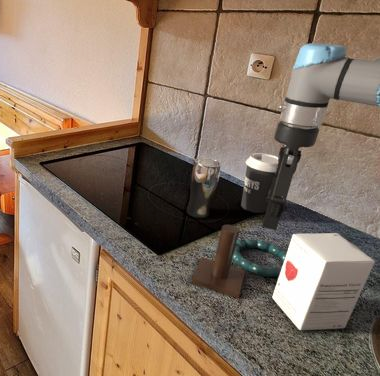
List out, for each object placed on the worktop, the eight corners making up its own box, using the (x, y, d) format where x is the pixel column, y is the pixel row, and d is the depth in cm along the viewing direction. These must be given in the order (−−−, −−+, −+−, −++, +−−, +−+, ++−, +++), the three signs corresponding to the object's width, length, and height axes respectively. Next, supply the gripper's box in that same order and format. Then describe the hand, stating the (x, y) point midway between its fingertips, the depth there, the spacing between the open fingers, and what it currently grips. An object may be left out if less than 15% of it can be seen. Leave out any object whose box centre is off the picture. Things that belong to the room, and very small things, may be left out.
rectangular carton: (269, 297, 80) (290, 232, 74) (312, 296, 81) (337, 231, 74) (298, 331, 72) (325, 261, 65) (346, 329, 72) (377, 260, 66)
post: (244, 274, 86) (258, 225, 81) (238, 298, 79) (253, 246, 74) (200, 261, 90) (211, 213, 85) (191, 283, 83) (202, 232, 78)
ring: (293, 255, 93) (296, 248, 93) (292, 286, 83) (294, 278, 82) (233, 239, 99) (235, 232, 98) (224, 266, 89) (226, 258, 88)
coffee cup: (244, 197, 121) (257, 149, 115) (278, 208, 115) (292, 159, 108) (229, 206, 115) (240, 156, 109) (262, 219, 109) (277, 167, 103)
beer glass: (178, 209, 113) (188, 159, 106) (197, 204, 116) (207, 155, 109) (197, 221, 107) (208, 168, 101) (216, 215, 110) (228, 164, 104)
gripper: (281, 108, 94) (258, 190, 103) (274, 136, 74) (246, 234, 84) (318, 113, 91) (291, 198, 100) (322, 144, 71) (287, 245, 80)
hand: (271, 214), depth 92 cm, fingers open, 13 cm apart
